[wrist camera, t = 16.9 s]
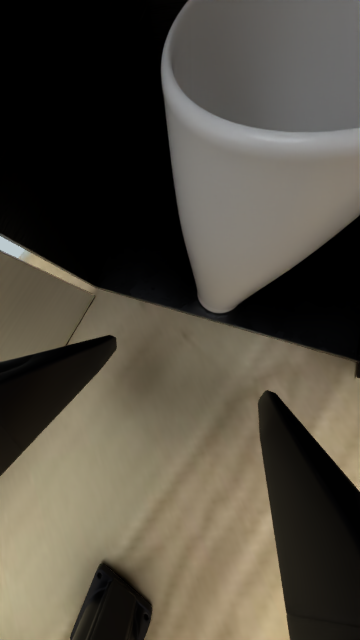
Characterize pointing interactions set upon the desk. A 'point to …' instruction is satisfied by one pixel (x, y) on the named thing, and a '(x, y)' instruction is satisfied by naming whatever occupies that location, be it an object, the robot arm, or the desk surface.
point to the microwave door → (36, 309)
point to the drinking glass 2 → (261, 136)
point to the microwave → (131, 173)
